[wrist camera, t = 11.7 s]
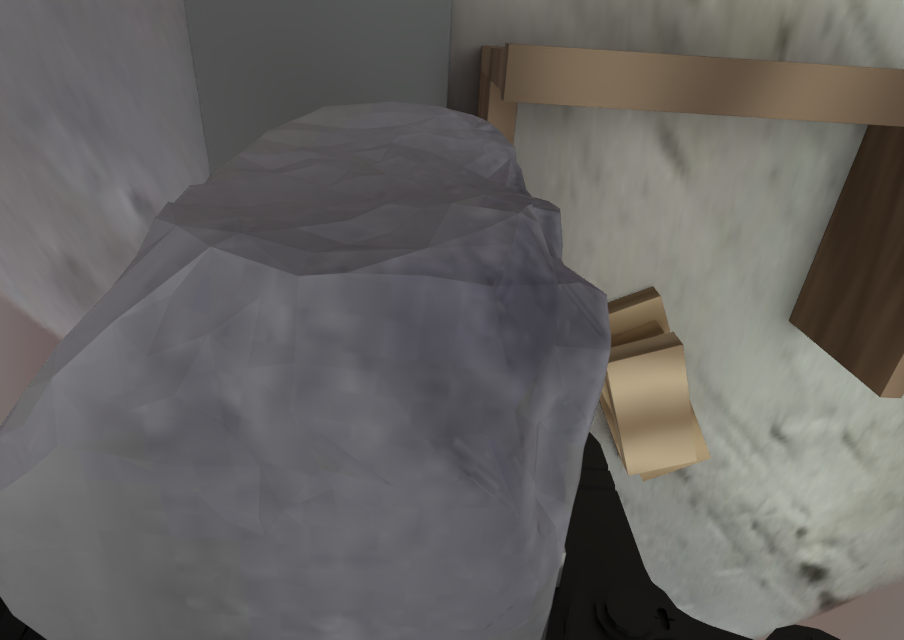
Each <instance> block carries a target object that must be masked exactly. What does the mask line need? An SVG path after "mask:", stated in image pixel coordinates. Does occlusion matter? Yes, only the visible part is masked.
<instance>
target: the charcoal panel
mask: <svg viewBox="0 0 904 640" xmlns="http://www.w3.org/2000/svg"><path fill="white" fill-rule="evenodd" d="M184 6H185V12H186V19H187V25H188V32H189V38H190V45H191V51H192V57H193V64H194V70H195V77H196V83H197V90H198V96H199V103H200V109H201V115H202V122H203V128H204V135H205V141H206V148H207V154H208V160H209V167H210V173H211V174H213V173H214V172H215V171H216V170H217V169H219V168H220V167H221V166H223V165H224V164H225V163H227V162H228V161H229V160H231V159H232V158H233V157H235V156H236V155H237V154H239V153H241V152H242V151H243V150H244V149H245V148H246V147H247V146H248V145H249V144H250V143H251V142H253V141H255V140H257V139H259V138H260V137H261V136H262V135H263V134H264V133H265V132H266V131H268V130H271V129H274V128H276V127H278V126H281V125H283V124H285V123H287V122H290V121H292V120H295V119H297V118H300V117H302V116H305V115H307V114H310V113H312V112H314V111H316V110H318V109H320V108H321V107H325V106H337V105H349V104H361V103H372V102H388V101H395V102H403V103H411V104H421V105H430V106H439V107H443V108H447V94H448V74H449V54H450V34H451V14H452V0H184Z"/></svg>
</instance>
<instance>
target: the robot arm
mask: <svg viewBox="0 0 904 640" xmlns="http://www.w3.org/2000/svg"><path fill="white" fill-rule="evenodd" d="M0 640H47V639H46V638H44V637H43V636H41V635H40V634H39V633H37V632H36V631H34V630H33V629H32V628H30V627H29V626H27V625H26V624H25V623H23V622H22V621H21V620H19V619H18V618H16V617H15V616H14V615H13V614H12V613H11V611H10V610H9V608H8V607H7V605H6V604H5V602H4V601H3V600H2V598H1V597H0ZM541 640H753V639H750V638H747V637H744V636H741V635H738V634H735V633H732V632H729V631H725V630H722V629H719V628H716V627H713V626H710V625H708V624H706V623H703V622H701V621H699V620H696V619H694V618H692V617H690V616H689V615H687V614H686V613H684V612H683V611H681V610H680V609H678V608H677V607H676V606H675V605H674V603H673V602H672V601H671V599H670V598H669V597H668V596H667V594H666V593H665V592H664V591H663V590H662V589H660V588H659V587H658V586H656V585H655V584H654V583H653V582H652V581H651V579H650V577H649V575H648V573H647V571H646V569H645V567H644V564H643V562H642V559H641V556H640V553H639V551H638V548H637V545H636V542H635V539H634V537H633V534H632V531H631V528H630V526H629V523H628V520H627V517H626V514H625V512H624V509H623V506H622V503H621V501H620V498H619V495H618V492H617V491H615V484H614V481H613V478H612V476H611V473H610V471H608V464H607V462H606V459H605V456H604V453H603V451H602V448H601V445H600V443H599V442H598V441H597V440H596V438H595V437H594V436H593V435H592V434H591V433H590V432H589V433H588V437H587V440H586V443H585V446H584V451H583V459H582V467H581V475H580V481H579V485H578V488H577V492H576V496H575V500H574V504H573V508H572V512H571V517H570V522H569V526H568V531H567V535H566V540H565V545H564V549H563V554H562V559H561V563H560V568H559V573H558V577H557V582H556V586H555V591H554V596H553V600H552V605H551V609H550V613H549V616H548V619H547V622H546V625H545V628H544V631H543V634H542V637H541ZM766 640H840V639H838V638H836V637H834V636H832V635H830V634H828V633H826V632H824V631H822V630H819V629H815V628H810V627H805V626H800V625H790V626H786V627H781V628H776V629H775V630H774V631H773V632H772V633H771V634H770V635H769V636H768V638H767V639H766Z"/></svg>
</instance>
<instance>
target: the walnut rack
mask: <svg viewBox="0 0 904 640" xmlns="http://www.w3.org/2000/svg"><path fill="white" fill-rule="evenodd" d="M518 102H520V103H536V104H552V105H568V106H584V107H600V108H615V109H631V110H647V111H663V112H679V113H695V114H711V115H726V116H742V117H758V118H774V119H790V120H806V121H822V122H837V123H853V124H869V126H868V129H867V131H866V134H865V136H864V139H863V141H862V144H861V146H860V148H859V151H858V153H857V156H856V158H855V161H854V163H853V166H852V168H851V171H850V173H849V175H848V178H847V180H846V183H845V185H844V188H843V190H842V193H841V195H840V198H839V200H838V202H837V205H836V207H835V210H834V212H833V215H832V217H831V220H830V222H829V224H828V227H827V229H826V232H825V234H824V237H823V239H822V242H821V244H820V247H819V249H818V251H817V254H816V256H815V259H814V261H813V264H812V266H811V269H810V271H809V273H808V276H807V278H806V281H805V283H804V286H803V288H802V291H801V293H800V296H799V298H798V300H797V303H796V305H795V308H794V310H793V313H792V315H791V318H790V320H789V321H790V322H791V323H792V324H793V325H794V326H796V327H797V328H798V329H799V330H800V331H802V332H803V333H804V334H805V335H806V336H808V337H809V338H810V339H811V340H812V341H813V342H815V343H816V344H817V345H818V346H819V347H821V348H822V349H823V350H824V351H825V352H827V353H828V354H829V355H830V356H831V357H833V358H834V359H835V360H836V361H837V362H839V363H840V364H841V365H842V366H843V367H845V368H846V369H847V370H848V371H849V372H851V373H852V374H853V375H854V376H855V377H857V378H858V379H859V380H860V381H861V382H863V383H864V384H865V385H866V386H867V387H869V388H870V389H871V390H872V391H873V392H875V393H876V394H877V395H878V396H879V397H887V398H901V397H902V396H903V394H904V70H900V69H885V68H870V67H855V66H840V65H825V64H810V63H794V62H779V61H764V60H749V59H734V58H719V57H704V56H689V55H673V54H658V53H643V52H628V51H613V50H598V49H583V48H568V47H552V46H537V45H522V44H507V43H505V47H494V46H482V58H481V71H480V84H479V97H478V111H477V117H479V118H481V119H484V120H486V121H487V122H489V123H491V124H492V125H494V126H495V127H496V128H497V129H498V130H500V131H501V132H502V133H503V135H504V136H505V138H506V139H507V140H508V141H509V142H510V143H511V144H512V145H513V141H514V132H515V122H516V113H517V104H518Z"/></svg>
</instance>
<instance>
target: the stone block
mask: <svg viewBox="0 0 904 640" xmlns="http://www.w3.org/2000/svg"><path fill="white" fill-rule="evenodd" d="M562 246H563V243H562V229H561V214H560V208H558V207H556V206H555V205H553V204H552V203H550V202H549V201H546V200H542V199H538V198H533V197H532V196H531V195H530V194H529V193H528V191H527V190H526V187H525V183H524V179H523V175H522V171H521V168H520V167H519V165H518V164H517V162H516V153H515V147H514V146H513V145H512V144H511V143H510V142H509V141H508V140H507V139H506V138H505V136H504V135H503V133H502V132H501V131H500V130H498V129H497V128H496V127H495V126H494V125H492V124H491V123H489V122H487V121H486V120H484V119H481V118H479V117H477V116H474V115H472V114H468V113H464V112H460V111H456V110H452V109H448V108H443V107H439V106H430V105H421V104H411V103H403V102H395V101H388V102H372V103H361V104H349V105H337V106H325V107H321V108H320V109H318V110H316V111H314V112H312V113H310V114H307V115H305V116H302V117H300V118H297V119H295V120H292V121H290V122H287V123H285V124H283V125H281V126H278V127H276V128H274V129H271V130H268V131H266V132H265V133H264V134H263V135H262V136H261V137H260V138H259V139H257V140H255V141H253V142H251V143H250V144H249V145H248V146H247V147H246V148H245V149H244V150H243V151H242V152H241V153H239V154H237V155H236V156H235V157H233V158H232V159H231V160H229V161H228V162H227V163H225V164H224V165H223V166H221V167H220V168H219V169H217V170H216V171H215V172H214V173H213V174H211V175H210V177H209V178H208V180H207V181H206V183H205V184H201V185H190V186H189V187H188V188H187V189H186V190H185V191H184V192H183V194H182V195H181V196H180V197H179V198H178V199H177V200H176V201H175V202H174V203H172V202H168V203H167V205H166V206H165V207H164V208H163V209H162V211H161V212H160V213H159V214H158V216H157V217H156V218H155V220H154V222H153V224H152V226H151V228H150V230H149V232H148V234H147V236H146V238H145V240H144V242H143V244H142V246H141V248H140V250H139V252H138V254H137V256H136V257H135V259H134V260H133V261H132V262H131V264H130V265H129V266H128V268H127V269H126V270H125V271H124V273H123V274H122V275H121V277H120V278H119V279H118V280H117V282H116V283H115V284H114V286H113V287H112V288H111V289H110V290H109V291H108V292H107V293H106V295H105V296H104V297H103V298H102V299H101V300H100V301H99V302H98V303H97V304H96V305H95V306H94V307H93V308H92V309H91V310H90V311H89V312H88V313H87V314H86V316H85V317H84V318H83V319H82V320H81V321H80V322H79V323H78V324H77V325H76V326H75V327H74V328H73V329H72V330H71V331H70V332H69V333H68V334H67V335H66V337H65V338H64V339H63V340H62V341H61V342H60V343H59V344H58V345H57V347H56V348H55V349H54V351H53V352H52V354H51V355H50V356H49V358H48V359H47V361H46V362H45V364H44V365H43V366H42V368H41V369H40V370H39V372H38V373H37V375H36V376H35V378H34V379H33V380H32V382H31V383H30V384H29V386H28V387H27V389H26V390H25V391H24V393H23V394H22V396H21V397H20V399H19V400H18V402H17V403H16V405H15V406H14V408H13V409H12V410H11V412H10V413H9V415H8V416H7V418H6V419H5V421H4V422H3V424H2V425H1V426H0V597H1V598H2V600H3V601H4V602H5V604H6V605H7V607H8V608H9V610H10V611H11V613H12V614H13V615H14V616H15V617H16V618H18V619H19V620H21V621H22V622H23V623H25V624H26V625H27V626H29V627H30V628H32V629H33V630H34V631H36V632H37V633H39V634H40V635H41V636H43V637H44V638H46V639H47V640H541V637H542V634H543V631H544V628H545V625H546V622H547V619H548V616H549V613H550V609H551V605H552V600H553V596H554V591H555V586H556V582H557V577H558V573H559V568H560V563H561V559H562V554H563V549H564V545H565V540H566V535H567V531H568V526H569V522H570V517H571V512H572V508H573V504H574V500H575V496H576V492H577V488H578V485H579V481H580V475H581V467H582V459H583V451H584V446H585V443H586V440H587V437H588V433H589V430H590V427H591V424H592V421H593V417H594V414H595V411H596V408H597V405H598V402H599V398H600V395H601V392H602V389H603V386H604V381H605V376H606V371H607V366H608V361H609V356H610V350H611V331H610V322H609V313H608V304H607V294H605V293H604V292H602V291H601V290H600V289H598V288H597V287H595V286H594V285H592V284H591V283H589V282H588V281H587V280H585V279H584V278H582V277H581V276H579V275H578V274H576V273H575V272H574V271H572V270H571V269H569V268H568V267H566V266H565V265H564V264H563V262H562V260H561V258H562Z"/></svg>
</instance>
